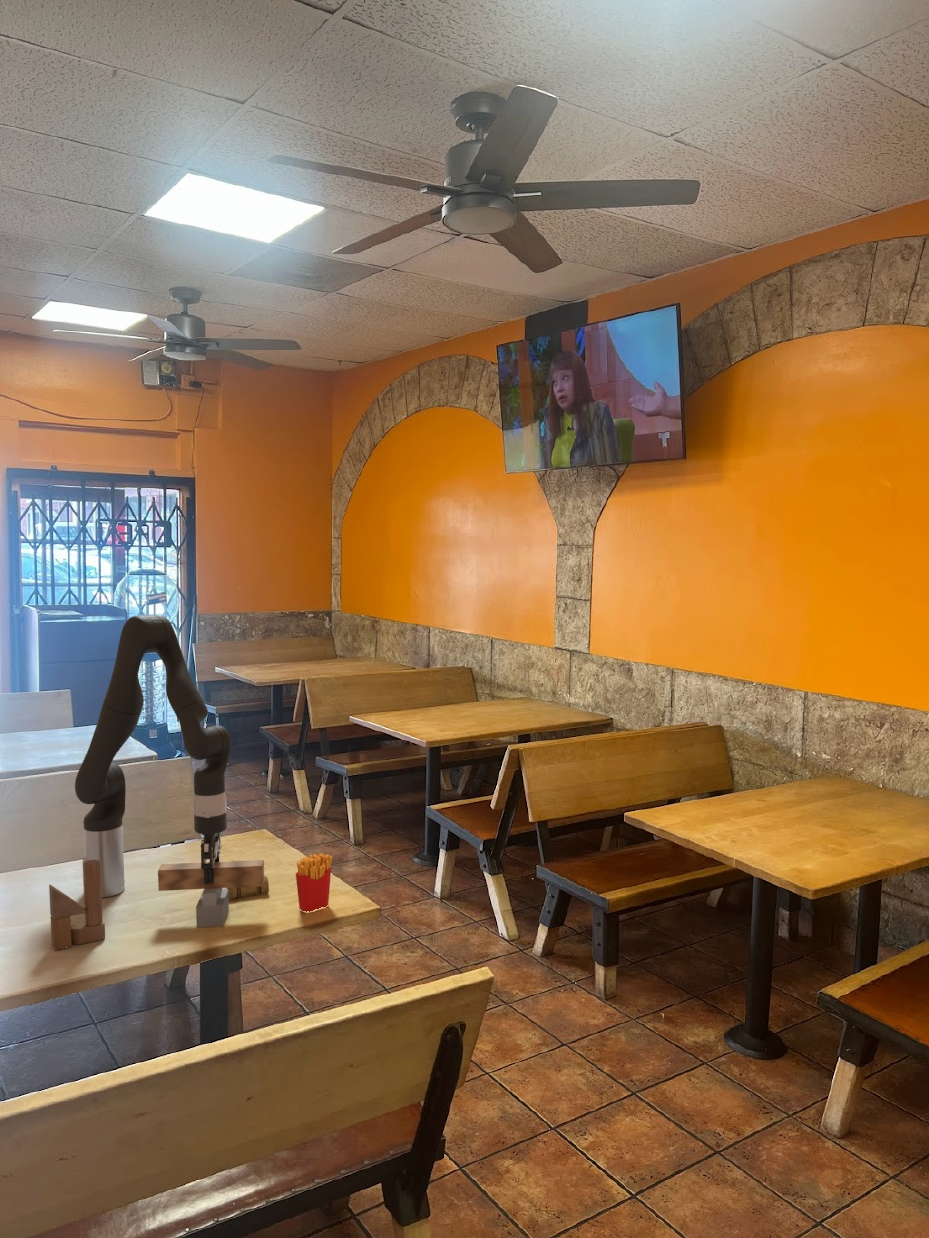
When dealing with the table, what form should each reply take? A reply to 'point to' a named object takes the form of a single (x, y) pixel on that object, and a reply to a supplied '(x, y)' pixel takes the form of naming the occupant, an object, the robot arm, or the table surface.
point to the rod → (224, 875)
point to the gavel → (248, 890)
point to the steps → (212, 907)
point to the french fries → (313, 881)
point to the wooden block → (78, 911)
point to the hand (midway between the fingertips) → (212, 876)
